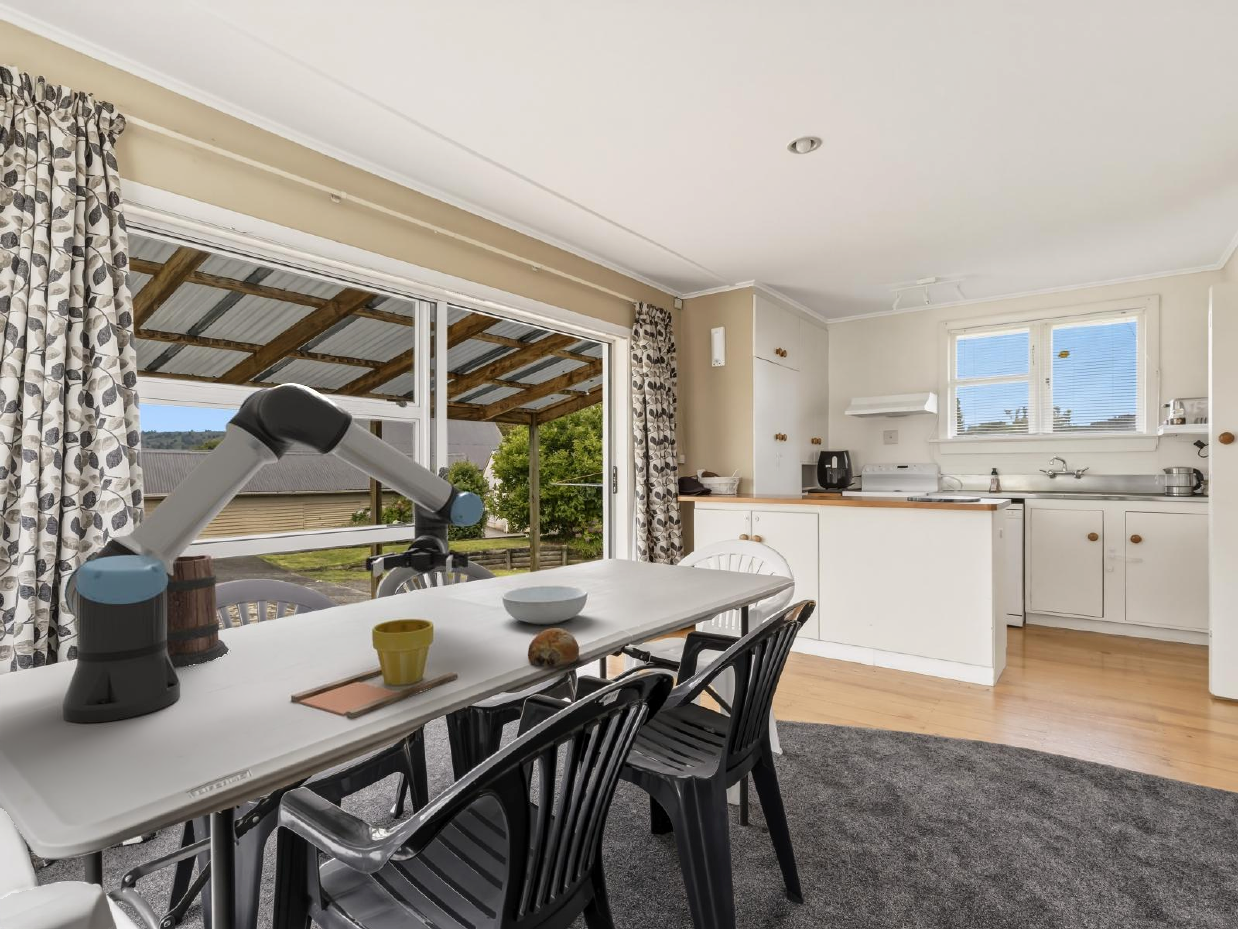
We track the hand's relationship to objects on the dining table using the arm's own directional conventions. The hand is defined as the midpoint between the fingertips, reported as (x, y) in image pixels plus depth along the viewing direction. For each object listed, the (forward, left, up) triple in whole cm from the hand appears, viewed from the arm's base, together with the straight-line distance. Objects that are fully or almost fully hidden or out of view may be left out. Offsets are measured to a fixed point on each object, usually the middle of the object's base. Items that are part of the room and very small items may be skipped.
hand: (411, 568), depth 130 cm
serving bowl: (+42, 0, -19) cm, 46 cm away
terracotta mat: (-19, -6, -18) cm, 27 cm away
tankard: (-19, +48, -19) cm, 55 cm away
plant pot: (-8, -6, -19) cm, 21 cm away
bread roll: (+16, -22, -19) cm, 33 cm away
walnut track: (-13, -6, -18) cm, 23 cm away
